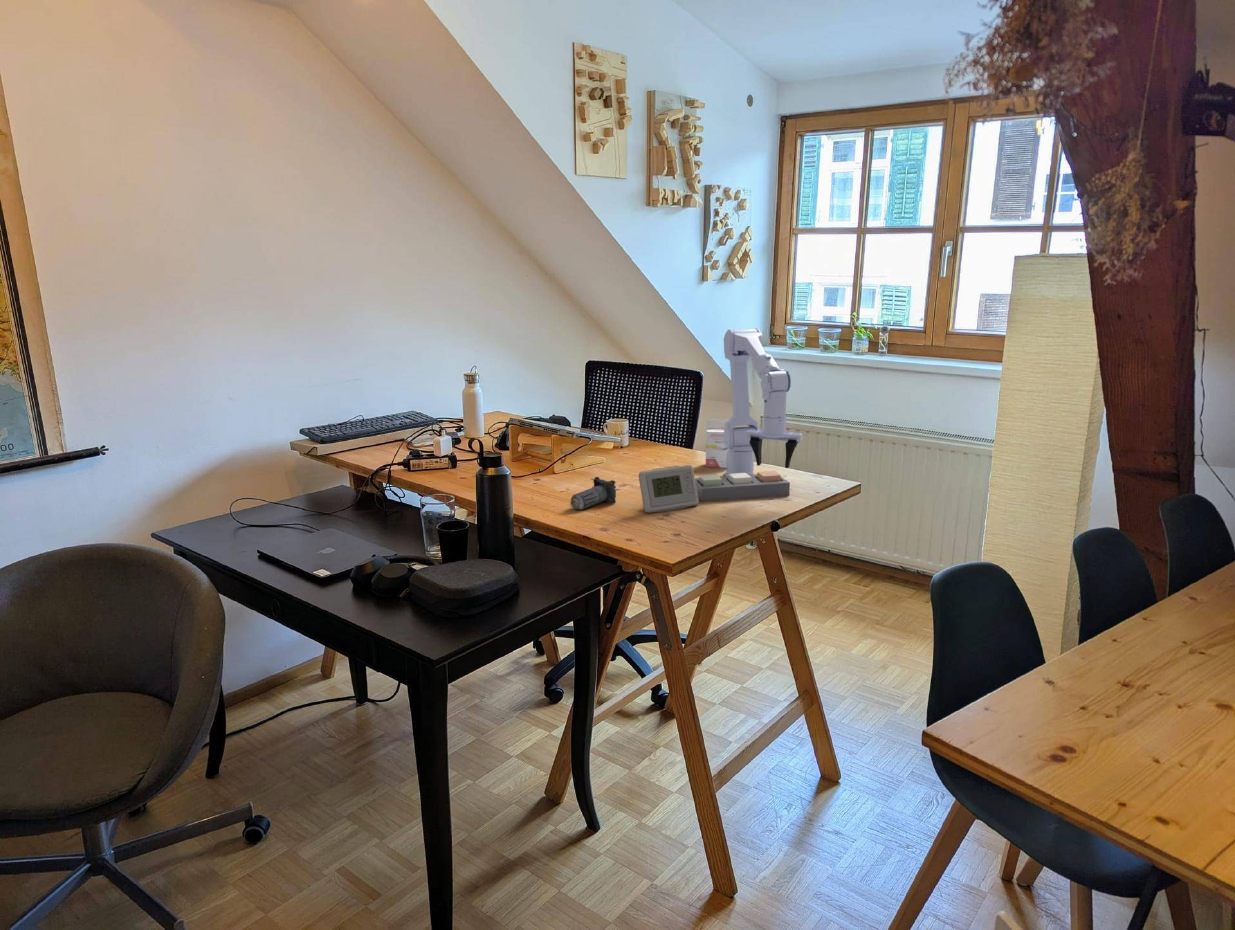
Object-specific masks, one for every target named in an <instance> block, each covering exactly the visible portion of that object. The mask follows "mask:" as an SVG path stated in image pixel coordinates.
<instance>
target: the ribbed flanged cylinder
mask: <svg viewBox="0 0 1235 930" xmlns="http://www.w3.org/2000/svg"><path fill="white" fill-rule="evenodd" d="M590 480H591V481H593V486H592V487H591V488H588V489H586V490H583V491H580V492H578V493H576V494H574V495H572V497H570V505H571V508H572V509H573V508H574V509H573V510H575V509H582V510H584V508H585V509H587V508H589V507H591V506H594V505H597V504H599V503H602V502H604V501H606V503H609V502H610V503H609V504H611V503H612V505H614V504H616V502H617V501H616V497H617V496H616V495H617V493H616V492H617V491H616V481H615V480H606V479H600V477H599V476H594V478H591V479H590Z"/></svg>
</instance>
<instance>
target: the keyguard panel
mask: <svg viewBox="0 0 1235 930" xmlns="http://www.w3.org/2000/svg"><path fill="white" fill-rule="evenodd" d="M749 476H751V483H745V484H733V483H731V482H730V481H729V480H728V478H729V476H725V475H722V476H719V477H720V478H721V479H722V485H716V486H703V485H702V484H701V483H700V482H699V477H697V478H696V477H695V483H696V489H697V495H698V500H700V501H701V502H710V501H711V502H713V501H724V500H736V499H737V500H739V499H751V498H752V499H753V498H766V497H767V498H768V497H781V496H790V486H791V485H790V483H791V482H789V481H788V480H786V479H785V478H783V477H782V476H781V481H774V482H762V481H761V480H759V479H758V478H757V473H756V474H753V475H749Z"/></svg>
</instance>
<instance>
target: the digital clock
mask: <svg viewBox="0 0 1235 930" xmlns="http://www.w3.org/2000/svg"><path fill="white" fill-rule="evenodd" d="M695 478H696V477H695V472H694V468H693V465H690V464H687V465H686V464H685V465H680V466H679V465H674V466H667V467H661V468H652V469H650V470H643V471H642V470H641V471H640V472H639V473H638V481H639V486H640V492H641V499H642V500H641V501H642V507H643V509H644V512H645V513H648V514H649V513H656V512H657V513H660V512H661V513H663V512H668V511H673V510H675V511H676V510H681V509H686V508H688V507H694V506H697V505H699V498H698V495H697V489H696V483H695Z"/></svg>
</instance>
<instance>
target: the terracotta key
mask: <svg viewBox="0 0 1235 930" xmlns="http://www.w3.org/2000/svg"><path fill="white" fill-rule="evenodd" d="M756 474H757V478H758V479H759V480H761V481H762V482H774V481H781V477H782V475H781V474H779V473H778V472H776V471H775V470H767V471H765V470H764V471H757V473H756Z"/></svg>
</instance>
